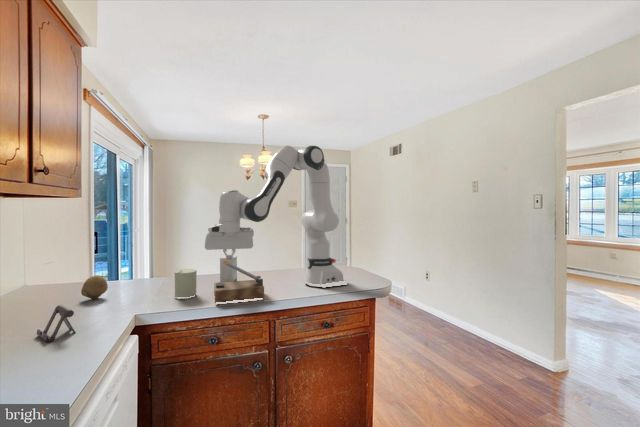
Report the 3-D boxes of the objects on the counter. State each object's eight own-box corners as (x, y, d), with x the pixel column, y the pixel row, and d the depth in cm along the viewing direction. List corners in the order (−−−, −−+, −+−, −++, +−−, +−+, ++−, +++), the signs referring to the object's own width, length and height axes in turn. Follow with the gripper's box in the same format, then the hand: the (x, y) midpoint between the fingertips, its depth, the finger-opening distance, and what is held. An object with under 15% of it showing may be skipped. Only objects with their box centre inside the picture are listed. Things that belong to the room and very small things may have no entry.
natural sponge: (113, 296, 137) (113, 274, 137) (93, 303, 128) (93, 279, 128) (97, 295, 139) (97, 273, 139) (77, 300, 131) (77, 277, 130)
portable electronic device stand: (36, 336, 96) (36, 309, 96) (67, 328, 102) (67, 303, 102) (46, 344, 91) (45, 315, 91) (78, 334, 98) (78, 308, 97)
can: (169, 297, 137) (169, 270, 137) (187, 292, 145) (187, 267, 145) (183, 300, 133) (183, 272, 132) (201, 295, 141) (201, 269, 140)
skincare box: (232, 290, 150) (232, 258, 149) (218, 290, 150) (219, 258, 149) (237, 285, 158) (237, 255, 158) (224, 285, 158) (224, 255, 158)
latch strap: (259, 281, 142) (261, 277, 143) (261, 283, 138) (263, 279, 139) (221, 262, 136) (223, 258, 137) (222, 264, 132) (224, 260, 132)
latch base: (258, 292, 147) (258, 274, 147) (264, 300, 134) (264, 281, 134) (214, 295, 140) (214, 277, 140) (215, 305, 127) (215, 284, 127)
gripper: (252, 226, 142) (252, 257, 142) (204, 227, 134) (204, 259, 135) (254, 227, 136) (254, 259, 136) (204, 228, 128) (204, 261, 129)
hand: (229, 259), depth 135 cm, fingers closed
